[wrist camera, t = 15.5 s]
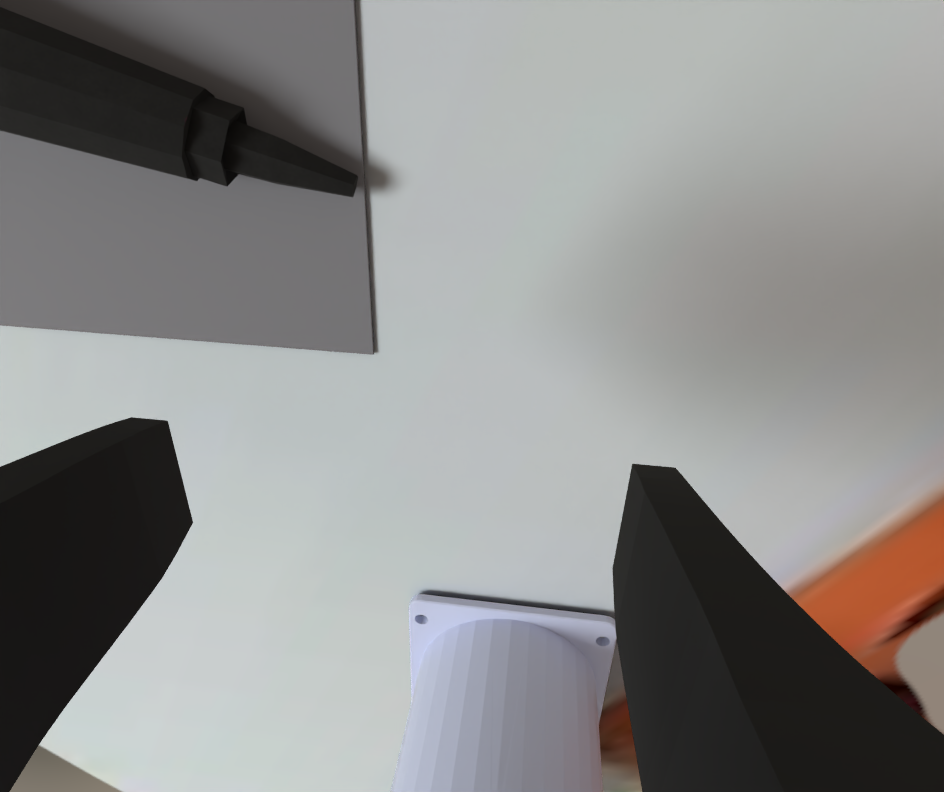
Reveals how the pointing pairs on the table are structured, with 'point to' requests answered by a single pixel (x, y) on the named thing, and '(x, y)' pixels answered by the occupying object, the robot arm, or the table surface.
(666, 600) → the robot arm
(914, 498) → the table surface
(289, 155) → the microphone
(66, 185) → the charcoal mat
